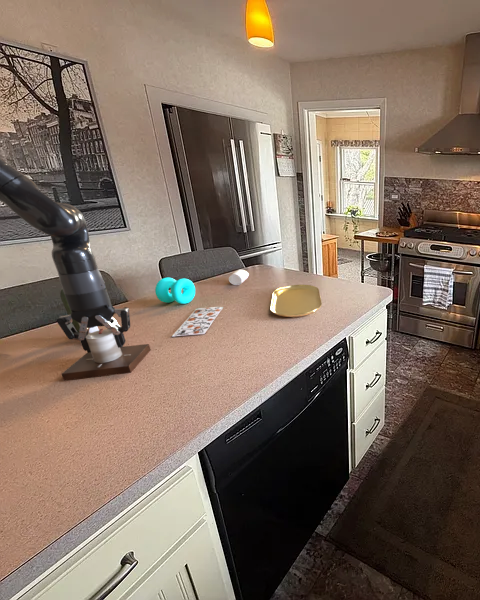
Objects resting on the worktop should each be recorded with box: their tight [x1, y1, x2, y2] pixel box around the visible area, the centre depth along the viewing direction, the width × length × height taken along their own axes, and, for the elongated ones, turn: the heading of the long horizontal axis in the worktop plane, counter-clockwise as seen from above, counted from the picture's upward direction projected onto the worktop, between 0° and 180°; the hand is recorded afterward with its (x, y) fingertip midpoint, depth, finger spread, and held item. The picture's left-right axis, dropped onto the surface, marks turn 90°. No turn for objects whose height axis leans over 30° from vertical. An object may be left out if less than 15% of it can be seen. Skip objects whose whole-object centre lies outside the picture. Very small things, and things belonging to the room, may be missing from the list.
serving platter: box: [269, 284, 323, 318], centre depth 131 cm, size 19×35×2 cm, turn 17°
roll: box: [228, 269, 250, 286], centre depth 154 cm, size 6×12×6 cm, turn 3°
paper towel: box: [171, 306, 224, 338], centre depth 113 cm, size 24×1×9 cm
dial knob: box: [86, 328, 122, 363], centre depth 85 cm, size 6×6×7 cm
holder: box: [61, 343, 151, 381], centre depth 86 cm, size 14×12×2 cm
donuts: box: [154, 276, 196, 305], centre depth 127 cm, size 10×10×10 cm
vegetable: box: [59, 288, 80, 332], centre depth 98 cm, size 4×4×20 cm
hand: (106, 348), depth 85 cm, fingers closed on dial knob, 5 cm apart
